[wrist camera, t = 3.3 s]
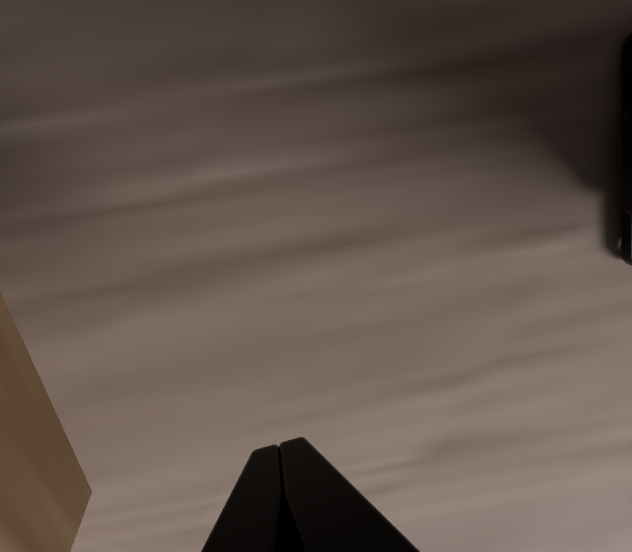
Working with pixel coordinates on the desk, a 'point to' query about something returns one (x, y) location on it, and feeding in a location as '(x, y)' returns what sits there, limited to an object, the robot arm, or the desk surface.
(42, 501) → the tile
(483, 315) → the desk surface
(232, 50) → the desk surface
